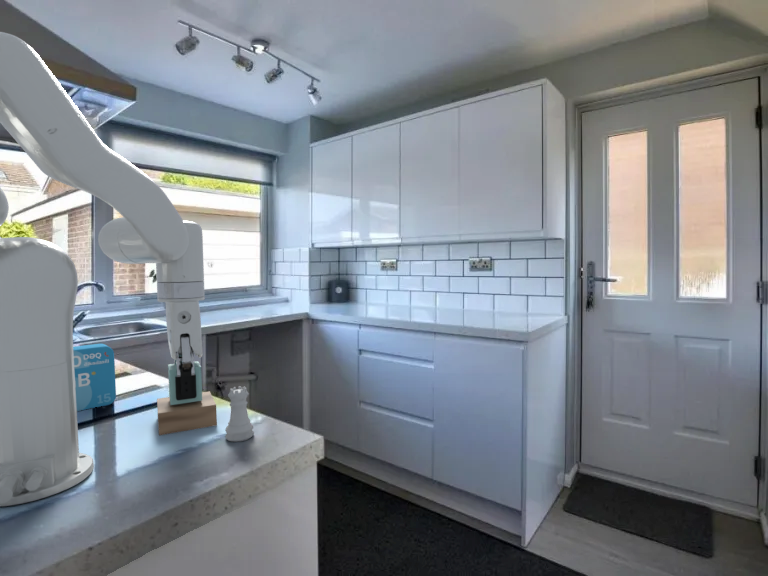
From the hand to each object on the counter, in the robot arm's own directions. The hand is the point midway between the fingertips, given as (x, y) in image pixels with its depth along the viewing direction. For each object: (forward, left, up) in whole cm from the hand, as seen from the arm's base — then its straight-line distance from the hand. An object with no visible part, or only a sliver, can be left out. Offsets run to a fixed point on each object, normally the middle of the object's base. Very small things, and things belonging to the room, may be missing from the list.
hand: (185, 393), depth 78 cm
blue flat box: (+19, +18, -5) cm, 27 cm away
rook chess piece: (-12, -7, -5) cm, 15 cm away
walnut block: (0, 0, -6) cm, 6 cm away
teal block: (0, 0, -1) cm, 1 cm away
